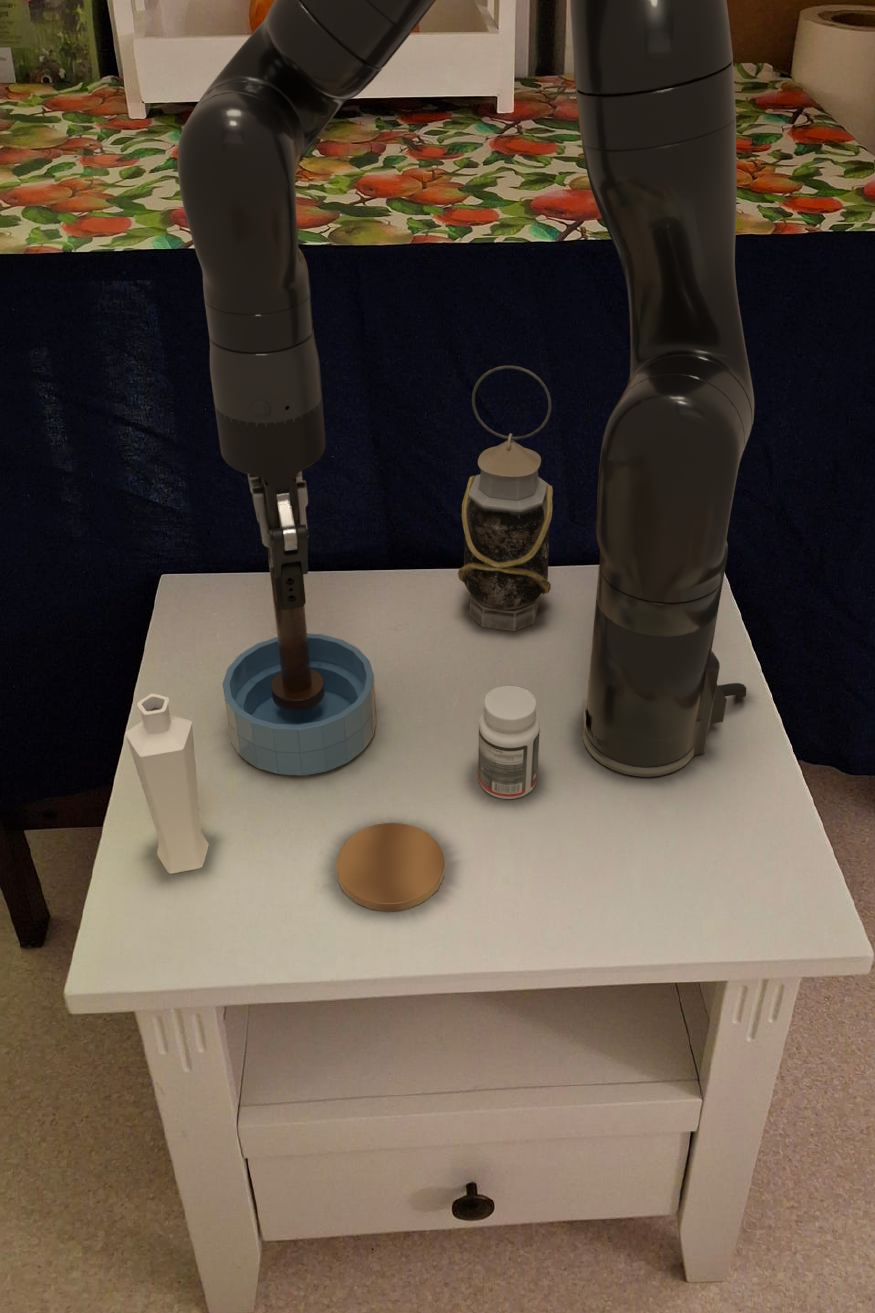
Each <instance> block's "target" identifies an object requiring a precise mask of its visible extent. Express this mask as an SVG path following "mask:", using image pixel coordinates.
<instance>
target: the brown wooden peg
mask: <svg viewBox="0 0 875 1313" xmlns="http://www.w3.org/2000/svg"><path fill="white" fill-rule="evenodd" d="M266 551H267V558H268V562H269V561H271V559H270V551H269V547H266ZM268 567H269V576H270V585H271V594H272V601H273V611H274V619H275V628H276V629H275V630H276V637H277V638H278V647H279V656H280V665H281V672H280V673H278V674H277V675H276V676H275V677H274V678H273V680H272V682H271V692H272V699H273V701H274V703H275V704H276V705H277V706H279V707H280V708H282V709H285V710H289V711H303V710H307V709H310V708H312V707H314V706H316V705H317V704H319V703H320V702H321V700H322V699H323V697H324V693H325V691H324V680H323V677H322V676H321V675H320V673H318V672H317V671H315V670H313V669H311V668H310V659H309V649H308V638H307V634H308V628H307V619H306V618H307V617H306V608H305V606H306V605H304V606H303V607H300V608H293V609H286V610H281V609H279V608H278V606H277V601H276V593H275V585H274V576H273V574H272V569H271V568H270V565H269V564H268Z"/></svg>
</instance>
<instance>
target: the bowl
mask: <svg viewBox="0 0 875 1313" xmlns="http://www.w3.org/2000/svg"><path fill="white" fill-rule="evenodd" d="M307 638H308V649H309V659H310V668H311V669H313V670H315V671H317V672H318V673H320V675H321V676H322V677H323V680H324V691H325V693H324V697H323V699H322V700H321V702H320V703H319V704H317V705H316V706H314V707H312V708H310V709H307V710H303V711H289V710H285V709H282V708H280V707H279V706H277V705H276V704H275V703H274V701H273V699H272V692H271V682H272V680H273V678H274V677H275V676H276V675H277V674H278V673H280V672H281V665H280V656H279V647H278V638H277V636H275V637H272V638H270V639H269V638H268V639H267V640H264V641H260V642H258V643H256V644H254V645H253V646H251V647H249V648H247V649H246V650H245V651H243V652H241V653H240V654H239V655H237V657H236V658H235V659H234V660H233V661H232V663H231V664H230V665H229V666H228V667H227V669H226V673H225V675H224V678H223V681H222V690H223V697H224V704H225V708H226V710H225V711H226V716H227V722H228V729H229V736H230V742H231V745H232V746H233V747H234V749H235V750H236V752H237V754H238V755H239V756H240V757H241V759H243V760H244V761H246V762H247V763H248V764H251V765H252V766H254V767H255V768H256V769H260V770H262V771H263V770H264V771H267V772H270V773H273V774H277V775H283V776H284V775H285V776H309V775H315V774H320V773H326V772H329V771H331V770H334V769H336V768H338V767H341V766H343V765H346V764H348V763H349V762H350V761H352V760H353V759H354V758H356V757H357V756H358V755H359V754H361V753H362V752H363V751H364V750H365V749H366V747H367V746H368V745H369V743H370V742H371V740H372V739H373V737H374V735H375V731H376V730H375V729H376V724H377V707H376V690H375V689H376V688H375V674H374V671H373V667H372V665H371V661H370V660H369V659H368V657H367V656H366V655H365V654H364V653H363V652H362V651H361V650H360V649H359V647H356V646H355V645H353V644H351V643H349V642H347V641H346V640H343V639H341V638H337V637H333V636H329V635H326V634H322V633H307Z"/></svg>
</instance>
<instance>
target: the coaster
mask: <svg viewBox="0 0 875 1313" xmlns="http://www.w3.org/2000/svg"><path fill="white" fill-rule="evenodd" d="M338 852H339V853H338V855H337V859H336V867H335V868H336V876H337V881H338V884H339V886H340V888H341V889H342V891H343V892H344V893H345V894H346V896H348V897H349V898H350V899H351V900H352V901H354V902H355V903H357V904H358V905H360V906H362V907H365V908H368V909H371V910H374V911H380V912H381V911H382V912H397V911H403V910H406V909H410V908H414V907H416V906H418V905H419V904H422V903H423V902H425V901H427V900H428V899H429V898H430V897H432V896H433V895H434V894H435V892H436V891H438V889H439V887H440V886H441V884H442V882H443V880H444V876H445V869H446V867H445V866H446V865H445V855H444V851H443V849H442V848H441V846H440V844H439V843H438V841H437V840H436V839H435V838H434V837H433V835H431V834H430V833H428V832H427V831H425V830H423V829H421V828H419V827H416V826H414V825H411V824H405V823H402V822H401V823H400V822H386V823H379V824H374V825H371V826H368V827H365V828H364V829H361V830H359V831H357V832H356V833H355V834H354V835H352V836H350V838H349V839H347V840H346V842H344V843H343V845H342V847H341V848H340V850H339V851H338Z"/></svg>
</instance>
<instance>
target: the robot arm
mask: <svg viewBox="0 0 875 1313" xmlns="http://www.w3.org/2000/svg"><path fill="white" fill-rule="evenodd" d="M436 1H437V0H274V1H273V3H272V5H271V6H270V8H269V9H268V12H267V15H266V17H265V18H264V19H263V21H262V22H261V23H260V24H259V25H258V27H257V28H256V29H255V30H254V31H253V32H252V33H251V35H250V36H249V37H248V38H247V39H246V41H244V43H243V44H242V45H241V47H240V48H239V49H238V50H237V51H236V53H235V54H234V55H233V56H232V57H231V58H230V60H229V61H228V62H227V64H226V65H224V67H223V69H222V70H221V71H220V72H219V74H218V75H217V76H216V77H215V78H214V80H213V81H212V83H211V84H210V85H209V87H208V88H207V89H206V91H205V92H204V93H203V94H202V96H201V97H200V99H199V101H198V102H197V104H196V105H195V107H194V108H193V110H192V112H191V114H190V115H189V117H188V119H187V120H186V122H185V124H184V125H183V127H182V130H181V133H180V136H179V140H178V144H177V156H176V157H177V174H178V183H179V190H180V197H181V201H182V207H183V210H184V215H185V218H186V223H187V226H188V229H189V233H190V237H191V240H192V244H193V248H194V250H195V253H196V257H197V260H198V262H199V265H200V268H201V273H202V290H203V300H204V307H205V314H206V315H205V316H206V322H207V323H206V324H207V330H208V337H209V374H210V381H211V388H212V389H211V390H212V394H213V395H212V396H213V404H214V410H215V411H214V412H215V418H216V426H217V433H218V440H219V447H220V448H219V449H220V453H221V457H222V458H223V460H224V462H225V463H226V464H227V465H228V466H229V467H231V468H232V469H233V470H236V471H237V472H240V473H243V474H246V475H247V481H248V485H249V490H250V493H251V495H252V503H253V507H254V512H255V516H256V521H257V523H258V524H259V532H260V533H259V534H260V538H261V541H262V542H261V543H262V545H263V546H264V547H266V548H267V547H269V551H270V559H271V561H269V560H268V566H269V565H270V568H271V569H272V574H273V576H274V585H275V593H276V601H277V606H278V608H279V609H281V610H286V609H293V608H300V607H303V606H306V602H307V600H306V589H305V578H304V575H308V573H309V569H310V566H309V536H310V531H309V528H308V527H309V526H308V519H307V506H308V505H309V494H308V486H307V481H306V480H303V470H305V469H307V468H310V467H311V466H313V465H315V463H317V462H318V461H319V460H320V459H321V458H322V456H323V455H324V453H325V450H326V446H327V444H326V442H327V441H326V431H325V417H324V416H325V415H324V403H323V402H324V400H323V389H322V376H321V375H322V374H321V363H320V362H321V361H320V357H319V352H318V346H317V343H316V338H315V330H314V320H313V308H312V307H313V306H312V294H311V281H310V275H309V274H310V273H309V268H308V263H307V260H306V258H305V256H304V253H303V251H302V250H301V249H300V248H299V247H300V246H299V233H298V219H297V203H296V202H297V201H296V174H297V171H298V168H299V165H300V163H301V162H302V160H303V159H304V157H305V156H306V155H307V153H308V152H309V150H310V149H311V147H312V145H313V143H314V142H315V141H317V139H318V137H319V136H320V134H322V132H323V131H324V129H325V128H326V127H327V126H328V124H329V123H330V122H331V121H332V119H333V118H334V116H335V115H336V114H337V112H338V111H339V110H340V109H341V107H342V106H343V105H344V104H345V102H346V101H348V100H351V99H354V98H355V97H356V96H358V95H360V94H361V93H362V92H363V91H364V90H365V89H366V88H367V87H368V86H370V84H371V83H372V82H373V81H374V80H375V78H376V77H377V76H378V75H379V74H380V72H381V71H382V70H383V68H384V67H385V66H386V65H387V64H388V63H389V62H390V60H391V59H392V58H393V56H394V55H395V54H396V53H397V52H398V50H399V49H400V48H401V46H402V45H403V44H404V43H405V41H406V40H407V39H408V38H409V36H410V35H411V34H412V33H413V31H415V29H416V28H417V26H418V25H419V24H420V23H421V21H422V20H423V19H424V17H426V15H427V14H428V13H429V11H430V10H431V8H432V7H433V5H434V4H435V3H436ZM569 1H570V2H569V3H570V4H569V6H570V7H569V8H570V31H571V51H572V52H571V53H572V68H573V81H574V88H575V97H576V99H575V100H576V106H577V107H576V108H577V114H578V125H579V131H580V132H579V134H580V141H581V148H582V153H583V154H582V155H583V158H584V164H585V170H586V173H587V178H588V182H589V186H590V189H591V193H592V196H593V198H594V202H595V204H596V205H597V209H598V211H599V215H600V216H601V219H602V221H603V223H604V226H605V228H606V231H607V233H608V236H609V238H610V240H611V243H612V244H613V247H614V250H615V252H616V254H617V256H618V259H619V263H620V265H621V269H622V273H623V276H624V281H625V285H626V294H627V302H628V314H629V316H628V317H629V344H630V345H629V347H630V348H629V351H630V352H629V356H630V357H629V374H628V381H627V385H626V387H625V389H624V391H623V393H622V394H621V396H620V398H619V399H618V402H617V403H616V405H615V407H614V408H613V410H612V412H611V414H610V416H609V417H608V421H607V423H606V425H605V427H604V428H605V429H604V432H603V436H602V437H603V438H602V443H601V448H600V455H599V456H600V457H599V468H598V483H597V486H598V487H597V498H596V499H597V500H596V517H595V518H596V519H595V537H596V542H597V545H598V548H599V560H598V573H597V584H596V586H597V587H596V594H595V607H594V617H593V630H592V639H591V640H592V641H591V650H590V651H591V652H590V662H589V672H588V682H587V683H588V684H587V693H586V694H587V695H586V703H585V701H583V705H582V717H583V718H582V719H583V725H582V726H583V727H582V739H583V743H584V747H586V749H587V751H588V752H589V754H590V755H591V756H592V757H593V758H594V759H595V760H596V761H597V762H599V763H600V764H601V765H603V766H605V767H607V768H609V769H610V770H613V771H615V772H618V773H619V774H624V775H627V776H634V777H643V778H644V777H647V778H652V777H659V776H664V775H668V774H671V773H674V772H676V771H679V770H680V769H682V768H684V766H686V765H687V764H688V763H690V761H691V760H692V759H693V757H695V756H698V755H704V754H705V753H706V747H707V741H708V735H709V732H710V731H709V730H710V725H713V724H718V723H723V722H724V718H725V713H726V707H727V701H728V699H727V697H730V696H731V697H732V696H735V698H737V699H743V698H745V697H746V696H747V686H746V685H745V684H743V683H740V682H733V683H725V684H719V685H718V679H719V672H720V668H721V667H720V665H721V664H720V661H719V659H718V657H717V655H716V654H715V653H714V652H713V644H714V639H715V632H716V627H717V621H718V614H719V608H720V602H721V597H722V596H721V595H722V591H723V590H722V589H723V584H724V577H725V572H726V568H727V561H728V556H729V545H728V541H727V538H728V532H729V526H730V525H729V524H730V518H731V513H732V508H733V500H734V494H735V489H736V484H737V478H738V472H739V467H740V463H741V460H742V457H743V455H744V451H745V449H746V446H747V444H748V441H749V438H750V436H751V432H752V428H753V424H754V420H755V394H754V388H753V381H752V376H751V369H750V365H749V360H748V359H749V358H748V354H747V348H746V341H745V336H744V329H743V322H742V316H741V311H740V304H739V303H740V302H739V297H738V289H737V288H738V287H737V280H736V262H735V261H736V234H737V232H736V230H737V113H736V111H737V110H736V92H735V72H734V71H735V70H734V69H735V68H734V62H733V59H734V54H733V44H732V37H731V35H732V34H731V27H730V19H729V10H728V2H727V0H569ZM270 568H269V569H270Z"/></svg>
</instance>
